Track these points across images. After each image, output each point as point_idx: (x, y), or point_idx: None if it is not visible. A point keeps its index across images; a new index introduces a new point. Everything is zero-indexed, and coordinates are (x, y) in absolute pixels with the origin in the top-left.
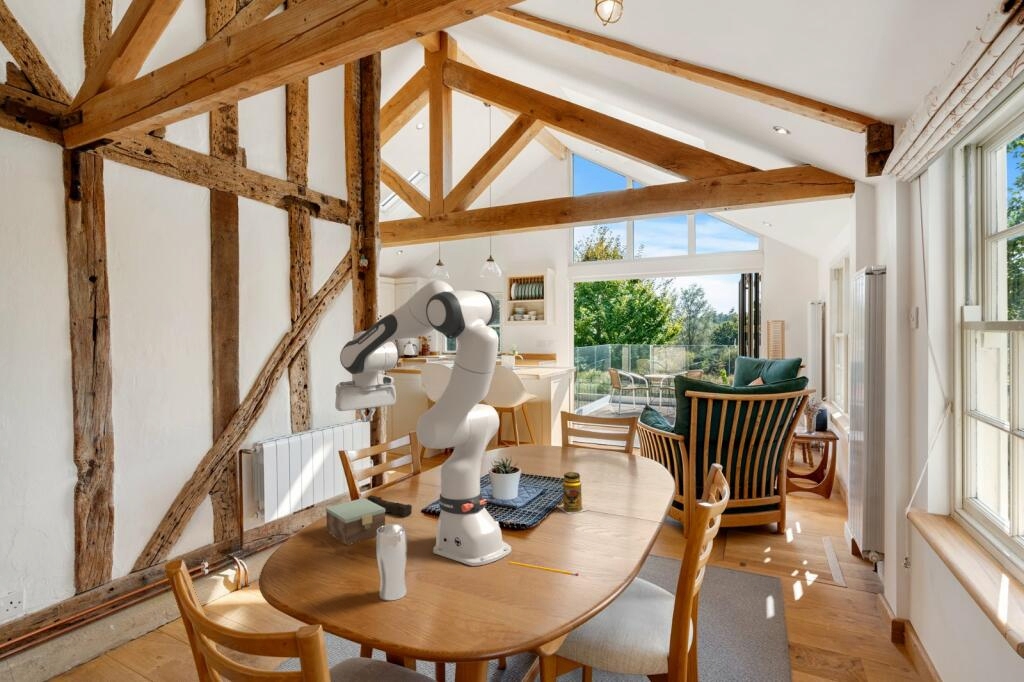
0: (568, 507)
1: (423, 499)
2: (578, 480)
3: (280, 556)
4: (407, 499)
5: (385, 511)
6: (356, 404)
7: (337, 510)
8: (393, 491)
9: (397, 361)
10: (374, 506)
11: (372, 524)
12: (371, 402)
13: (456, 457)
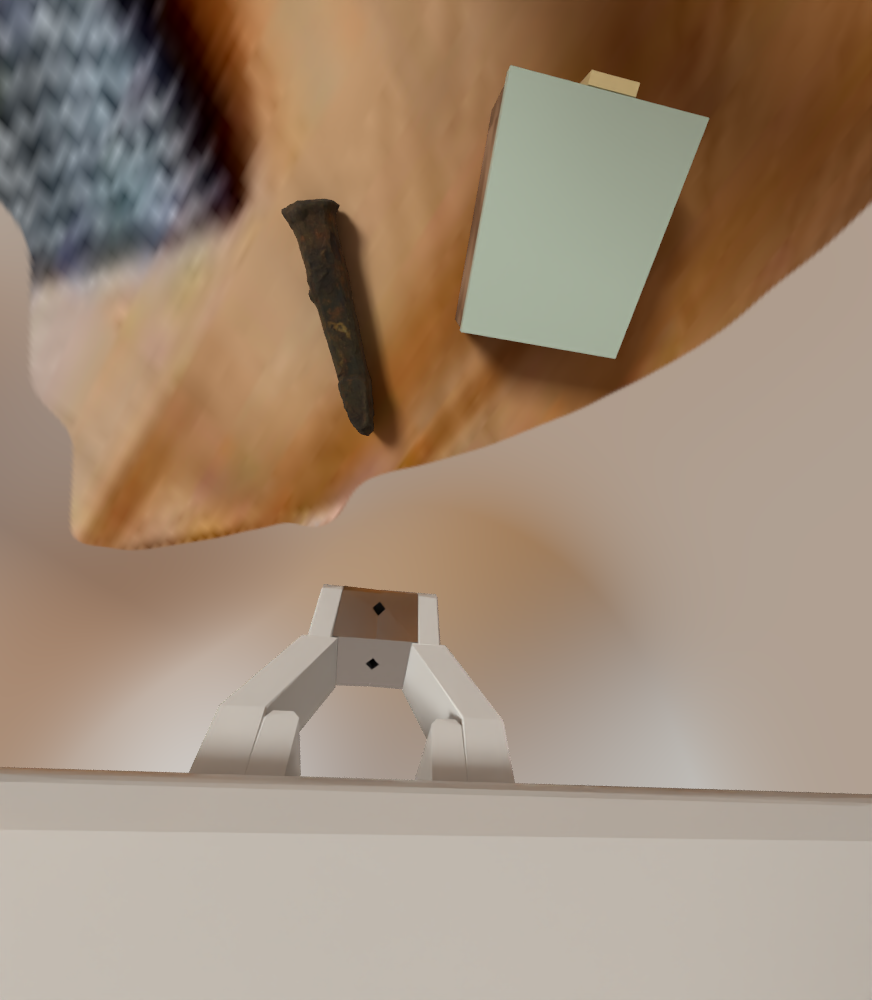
0: None
1: (169, 325)
2: None
3: (772, 284)
4: (223, 379)
5: (358, 324)
6: (718, 933)
7: (625, 281)
8: (225, 485)
9: None
10: (514, 166)
11: None
12: (260, 954)
13: None
